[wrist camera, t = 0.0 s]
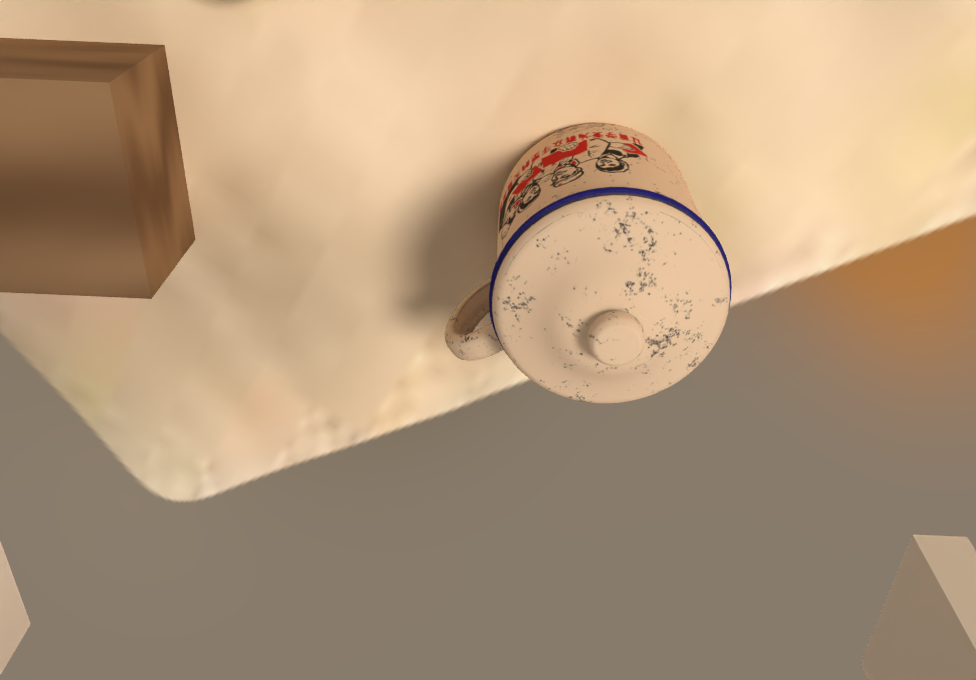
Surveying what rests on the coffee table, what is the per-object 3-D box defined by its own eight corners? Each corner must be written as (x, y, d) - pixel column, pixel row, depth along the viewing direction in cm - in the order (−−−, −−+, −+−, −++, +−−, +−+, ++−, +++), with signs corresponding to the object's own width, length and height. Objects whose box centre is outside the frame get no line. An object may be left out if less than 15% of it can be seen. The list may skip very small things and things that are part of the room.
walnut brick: (-46, 34, 36) (-138, 71, 31) (166, 44, 36) (108, 82, 31) (9, 229, 41) (-63, 289, 36) (196, 237, 41) (151, 298, 36)
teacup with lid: (637, 75, 36) (683, 175, 26) (723, 243, 40) (791, 385, 30) (403, 209, 40) (366, 342, 30) (503, 352, 44) (500, 511, 34)
